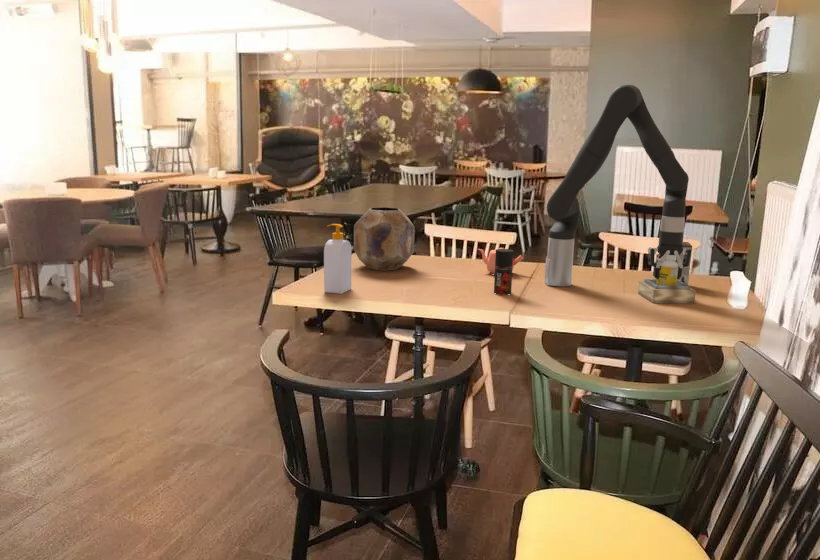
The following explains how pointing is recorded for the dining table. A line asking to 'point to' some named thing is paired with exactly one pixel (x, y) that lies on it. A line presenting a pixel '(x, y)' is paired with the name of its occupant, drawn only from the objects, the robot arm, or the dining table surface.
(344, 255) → the soap bottle
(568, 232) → the robot arm
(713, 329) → the dining table surface
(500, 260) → the deodorant
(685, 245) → the coffee box
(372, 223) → the planter
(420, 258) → the dining table surface
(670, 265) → the pill bottle
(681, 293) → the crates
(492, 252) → the teapot
